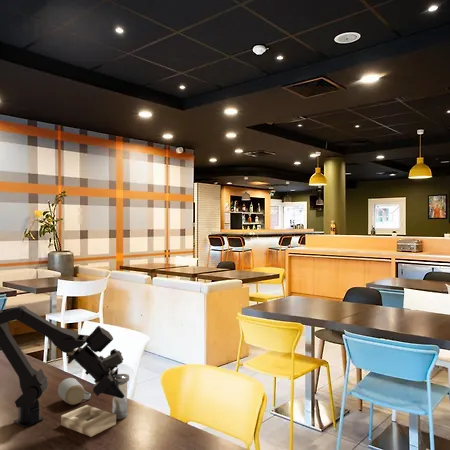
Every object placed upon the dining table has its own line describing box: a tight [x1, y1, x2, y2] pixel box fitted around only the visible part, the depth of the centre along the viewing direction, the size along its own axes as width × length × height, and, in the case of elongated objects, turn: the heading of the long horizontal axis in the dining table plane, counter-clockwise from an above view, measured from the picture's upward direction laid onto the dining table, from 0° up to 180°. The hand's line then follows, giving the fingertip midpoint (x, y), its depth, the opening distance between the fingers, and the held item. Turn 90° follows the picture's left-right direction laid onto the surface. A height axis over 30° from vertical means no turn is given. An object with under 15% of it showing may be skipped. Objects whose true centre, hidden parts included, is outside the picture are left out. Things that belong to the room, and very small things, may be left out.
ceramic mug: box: [57, 377, 92, 406], centre depth 153 cm, size 11×8×8 cm
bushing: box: [112, 373, 130, 420], centre depth 140 cm, size 6×6×13 cm
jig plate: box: [60, 404, 117, 438], centre depth 134 cm, size 14×10×3 cm
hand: (124, 394), depth 140 cm, fingers closed on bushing, 5 cm apart
